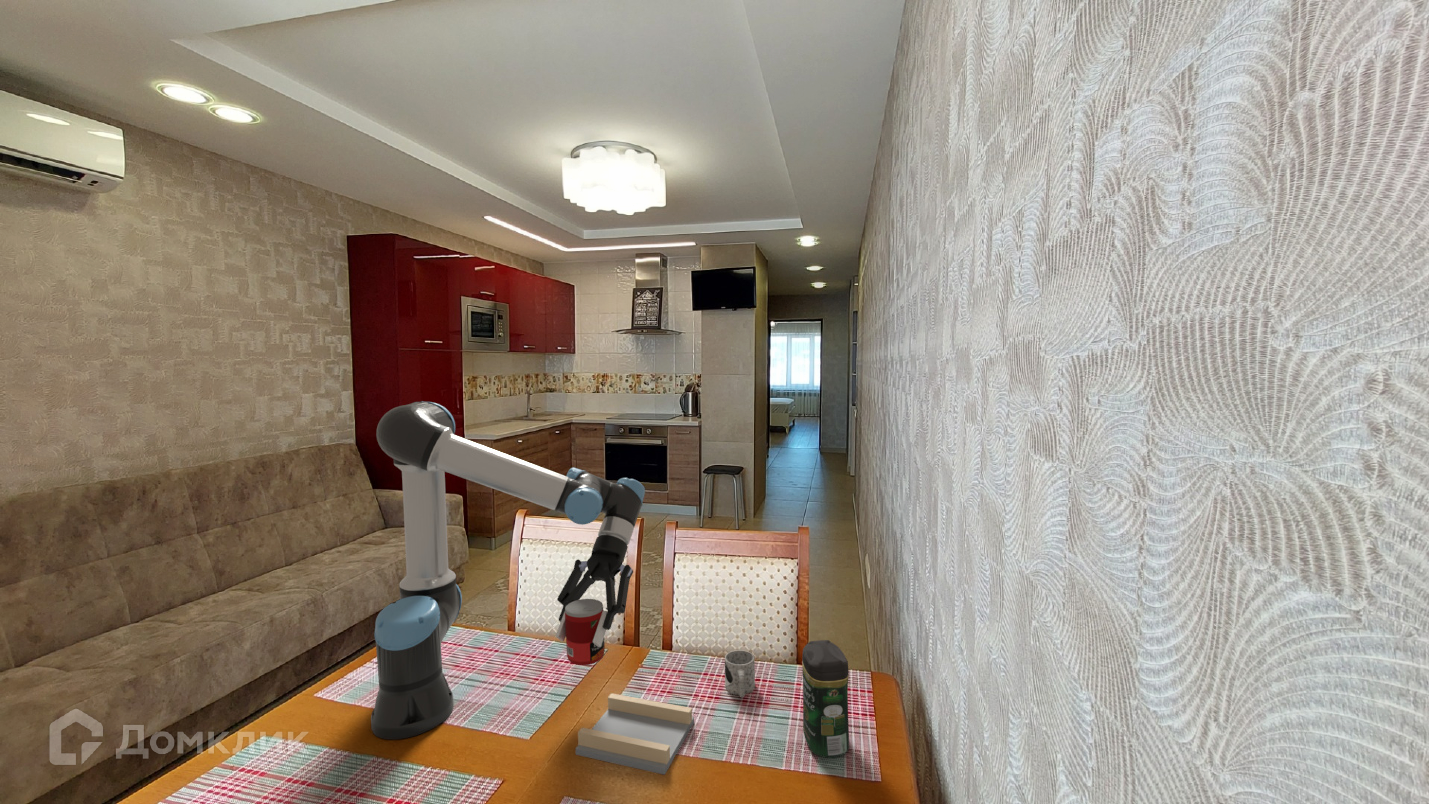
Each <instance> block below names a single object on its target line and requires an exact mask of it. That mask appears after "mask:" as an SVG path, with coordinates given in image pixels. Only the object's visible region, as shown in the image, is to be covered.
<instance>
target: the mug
mask: <svg viewBox="0 0 1429 804" xmlns="http://www.w3.org/2000/svg"><path fill="white" fill-rule="evenodd" d="M755 662H756V661H755V656H754V654H753V653H752V652H750V651H747V650H743V649H735V650H731V651H729V652H727V653H726V654H725V655H724V687H725V690H726V691H728V693H730V694H732V695H737V696H739V697H740V698H744V697H745V695H747V694H751V693H752V692H753V691H754V690H755V687H756V677H755V676H756V675H755V674H756V672H755V671H756V670H755V668H756V666H755V665H756V663H755Z"/></svg>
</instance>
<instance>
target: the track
mask: <svg viewBox="0 0 1429 804" xmlns="http://www.w3.org/2000/svg"><path fill="white" fill-rule="evenodd" d="M607 708H608V709H607V710H606V711H605V712H604V713H603V715H602V716H601V717H600V719H598V721H597V722H596V723H595V724H594V726H593V727H592V728H587V727H584V726H583V727H581V728H580V729H579V730H578V732H577V740H578V741H577V743H578V744H577V746H576V747H575V755H576V756H580V757H584V758H589V759H594V760H599V761H602V762H605V763H606V762H607V763H611V764H615V765H619V766H620V765H621V766H624V767H625V766H626V767H629V768H634V769H639V770H643V771H647V772H652V773H656V774H661V775H666V773H667V772H668V770H669V768H670V766H671V765H672V763H673V761H674V759H675V758H676V756H677V754H678V752H679V751H680V749H681V747H682V745H683V743H684V742H685V740H686V738H687V736H688V734H689V733H690V731H691V729H692V727H693V726H692V725H694V724H695V717H694V716H693V708H692V707H690V706H689V707H688V706H683V705H677V704H672V703H666V702H661V701H655V700H651V699H646V698H645V699H644V698H639V697H634V696H628V695H623V694H618V693H610V694H609V695H608V697H607ZM690 728H691V729H690ZM680 746H681V747H680ZM679 748H680V749H679ZM675 755H676V756H675ZM674 757H675V758H674Z"/></svg>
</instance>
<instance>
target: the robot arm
mask: <svg viewBox="0 0 1429 804" xmlns="http://www.w3.org/2000/svg"><path fill="white" fill-rule="evenodd" d="M455 433H456V421H455V419H454V416H453V415H452V413H451V411H449V410H448V409H447V408H446V407H445V406H443V405H441V404H440V403H436V402H432V401H423V400H421V401H415V402H412V403H409V404H405V405H404V404H403V405H399V406H396V407H394V408H392V409H390V410H389V411H387V412H386V413H384V414H383V416H382V417H381V418H380V420H379V421H378V424H377V428H376V441H377V442H378V443H377V444H378V445H379V447H380V448H381V450H382V451H383V452H384V453H385V454H386V455H387V456H388V457H390V458H391V459H393V465H394V466H395V467H396V468H398V469H399V470H400V471H401V478H402V497H403V498H402V501H403V522H404V523H403V524H404V542H405V543H404V544H405V545H404V547H405V568H406V575H405V576H404V577H403V578H402V579H401V580H400V582H399V599H398V600H396V601H395V602H392V603H390V604H388V605H386V606H385V607H384V608H383V609H381V611H379V613H378V615H377V617H376V619H375V628H374V640H375V650H376V664H377V665H376V666H377V678H378V691H377V695H376V699H375V704H374V708H373V710H372V711H371V716H370V722H371V723H370V724H371V726H370V727H371V732H372V731H373V732H372V734H374V735H375V736H376V737H378V738H380V739H385V740H401V739H408V738H412V737H415V736H418V735H421V734H424V733H426V732H428V731H430V730H432V729H434V728H436V727H438V726H439V725H440V724H442V723H443V722H444V721H445V720H447V719H448V717H449V716H450V715H451V713H452V712H453V711H454V706H453V705H454V694H453V692H452V690H451V688H450V686H449V684H448V681H447V679H446V677H445V674H444V673H443V660H442V659H443V658H442V657H443V656H442V642H443V640H444V638H445V637H446V635H447V633H448V631H449V630H450V628H451V626H452V625H453V623H455V621H456V620H457V618H458V616H459V614H460V611H461V609H462V605H463V604H462V603H463V596H462V591H461V589H460V587H459V585H458V584H457V575H456V573H455V571H453V570H452V569H450V568H449V551H448V549H449V548H448V546H449V545H448V527H447V526H448V523H447V504H446V503H447V502H446V501H447V499H446V477H445V475H446V474H445V473H447V474H448V473H449V474H451V475H454V476H457V477H459V478H462V479H465V480H467V481H470V482H473V483H476V484H479V485H482V486H484V487H488V488H490V489H494V490H496V491H498V492H499V491H500V492H502V493H504V494H507V495H511V496H512V497H516V498H518V499H522V500H525V501H527V502H529V503H530V502H531V503H533V504H536V505H538V506H540V507H541V506H542V507H544V508H547V509H549V510H552V511H556V512H558V513H561V514H562V515H563V514H564V515H565V516H567V518H568V519H569V520H570V522H572V523H574V524H577V525H582V526H583V525H589V524H590V523H593V522H594V521H595V520H596V519H598V517H599V515H600V514H601V513H603V514H604V516H603V517H604V518H603V520H602V522H601V526H600V527H599V529H598V530H599V531H598V533H597V537H596V539H595V540H594V543H593V547H592V551H591V555H590V557H589V558H588V559H587V560H583V561H582V560H580V559H576V560H575V562H574V564H573V565H574V566H573V570H572V572H571V573H570V575H569V577H568V578H567V580H566V582H565V584H564V585H563V588H561V591H560V592H559V595H558V597H557V600H556V601H558V602H559V604H561V605H562V607H561V611H560V614H559V617H558V622H559V624H558V625H559V626H558V629H557V631H556V633H555V638H556V639H558V640H559V641H560V642H565V641H566V626H565V607H566V606H567V605H568V604H569V603H571V602H573V601H576V600H581V598H582V597H583V596H584V594H585V593H586V592H587V591H588V589H589V588H590V587H591V586H593V585H594V584H595V583H596V582H601V581H602V582H605V595H606V597H605V599H606V607H605V609H606V610H604V609H603V612H602V615H601V618H600V621H599V624H598V627H597V630H596V633H595V636H594V639H593V643H594V644H595V645H596V646H597V647H601V645H602V642H603V639H604V640H605V635H606V633H607V631H609V630H610V629H611V628H612V624H613V621H614V619H615V616H616V615H617V614H624V613H625V611H626V607H627V600H628V593H629V585H630V579H631V578H632V575H633V573H634V570H633V568H632V567H631V565H629V564H626V565H624V564H623V562H624V560H625V557H626V554H627V552H628V549H629V548H628V546H629V544H630V541H631V539H632V535H633V533H634V529H635V526H636V523H637V520H638V517H639V515H640V512H641V509H642V506H643V502H644V497H645V494H646V489H645V486H644V485H643V484H642V483H641V482H640V481H638V480H636V479H634V478H628V477H621V478H619V479H618V480H617V482H612V481H609V480H607V479H604V478H602V477H600V476H597V475H594V474H592V473H590V472H588V471H587V470H584V469H583V470H582V469H580V468H577V467H571V468H570V469H569V470H568V471H567V473H566V475H564V474H561V473H558V472H555V471H553V470H550V469H548V468H545V467H541V466H539V465H537V464H534V463H531V462H528V461H526V460H523V459H520V458H519V457H515V456H513V455H509V454H508V453H504V452H501V451H499V450H496V449H493V448H491V447H488V446H485V445H483V444H481V443H477V442H475V441H472V440H470V439H467V438H464V437H462V436H459V435H456V434H455ZM586 569H587V570H586ZM583 573H584V574H583ZM619 573H620V577H619V583H618V590H617V595H616V587H615V586H616V579H615V577H616V575H618V574H619ZM582 576H583V577H582ZM616 596H617V598H616Z"/></svg>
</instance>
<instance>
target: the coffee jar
mask: <svg viewBox="0 0 1429 804" xmlns="http://www.w3.org/2000/svg"><path fill="white" fill-rule="evenodd" d="M801 658H802V659H801V660H802V661H801V663H802V708H803V709H802V718H803V719H802V727H803V729H802V731H803V734H804V738H805V742H806V744H807V746H808V747H809V749H810V750H811V752H812V753H813V754H814V755H816V756H819V757H825V758H838V757H840V756H843V755H844V754H846V753H848V752H849V748H850V730H849V729H850V728H849V699H848V698H849V695H848V694H849V692H848V688H849V678H850V677H849V674H850V671H849V661H848V659H847V657H846V655H845V654H844V652H843V651H842V649H840V647H839V646H837V644H835V643H834V642H831V641H830V640H829V639H826V640H825V639H822V640H820V639H818V640H811V641H809V642H808V643H806V645H804V647H803V649H802V657H801Z"/></svg>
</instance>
